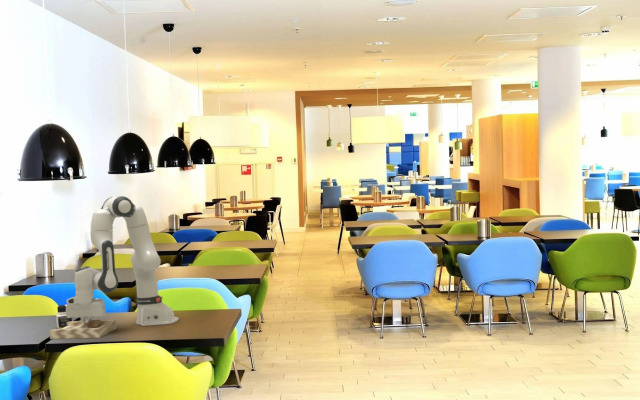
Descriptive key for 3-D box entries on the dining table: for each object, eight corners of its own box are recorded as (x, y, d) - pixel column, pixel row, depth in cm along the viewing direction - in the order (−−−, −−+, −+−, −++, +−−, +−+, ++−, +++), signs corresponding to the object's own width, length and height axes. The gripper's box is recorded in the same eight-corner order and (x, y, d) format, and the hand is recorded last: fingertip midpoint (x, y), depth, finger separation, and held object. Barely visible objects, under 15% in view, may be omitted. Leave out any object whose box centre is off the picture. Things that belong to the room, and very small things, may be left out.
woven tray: (115, 328, 379) (115, 320, 379) (99, 337, 359) (98, 328, 359) (69, 330, 382) (68, 321, 382) (49, 339, 362) (49, 330, 362)
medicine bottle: (58, 329, 385) (57, 307, 385) (56, 327, 392) (55, 305, 391) (72, 327, 388) (71, 305, 388) (70, 325, 395) (69, 303, 394)
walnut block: (101, 327, 371) (100, 319, 371) (97, 329, 366) (96, 321, 366) (92, 327, 372) (91, 320, 372) (87, 329, 367) (87, 322, 367)
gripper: (106, 297, 371) (108, 323, 372) (69, 298, 374) (71, 324, 375) (101, 299, 365) (103, 326, 366) (63, 300, 368) (65, 327, 369)
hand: (86, 325), depth 370 cm, fingers closed
